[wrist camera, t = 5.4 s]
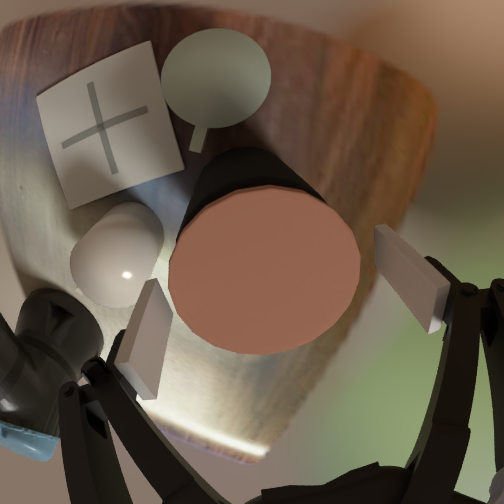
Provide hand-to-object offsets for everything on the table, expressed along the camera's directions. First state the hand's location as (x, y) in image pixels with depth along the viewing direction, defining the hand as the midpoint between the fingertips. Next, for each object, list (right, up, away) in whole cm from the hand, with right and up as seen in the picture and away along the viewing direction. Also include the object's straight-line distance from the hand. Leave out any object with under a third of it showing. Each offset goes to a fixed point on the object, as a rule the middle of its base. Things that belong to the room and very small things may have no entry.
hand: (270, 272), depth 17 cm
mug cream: (-16, +3, +16) cm, 23 cm away
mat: (-17, +15, +10) cm, 24 cm away
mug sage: (-5, +17, +10) cm, 20 cm away
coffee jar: (-2, +8, +15) cm, 17 cm away
